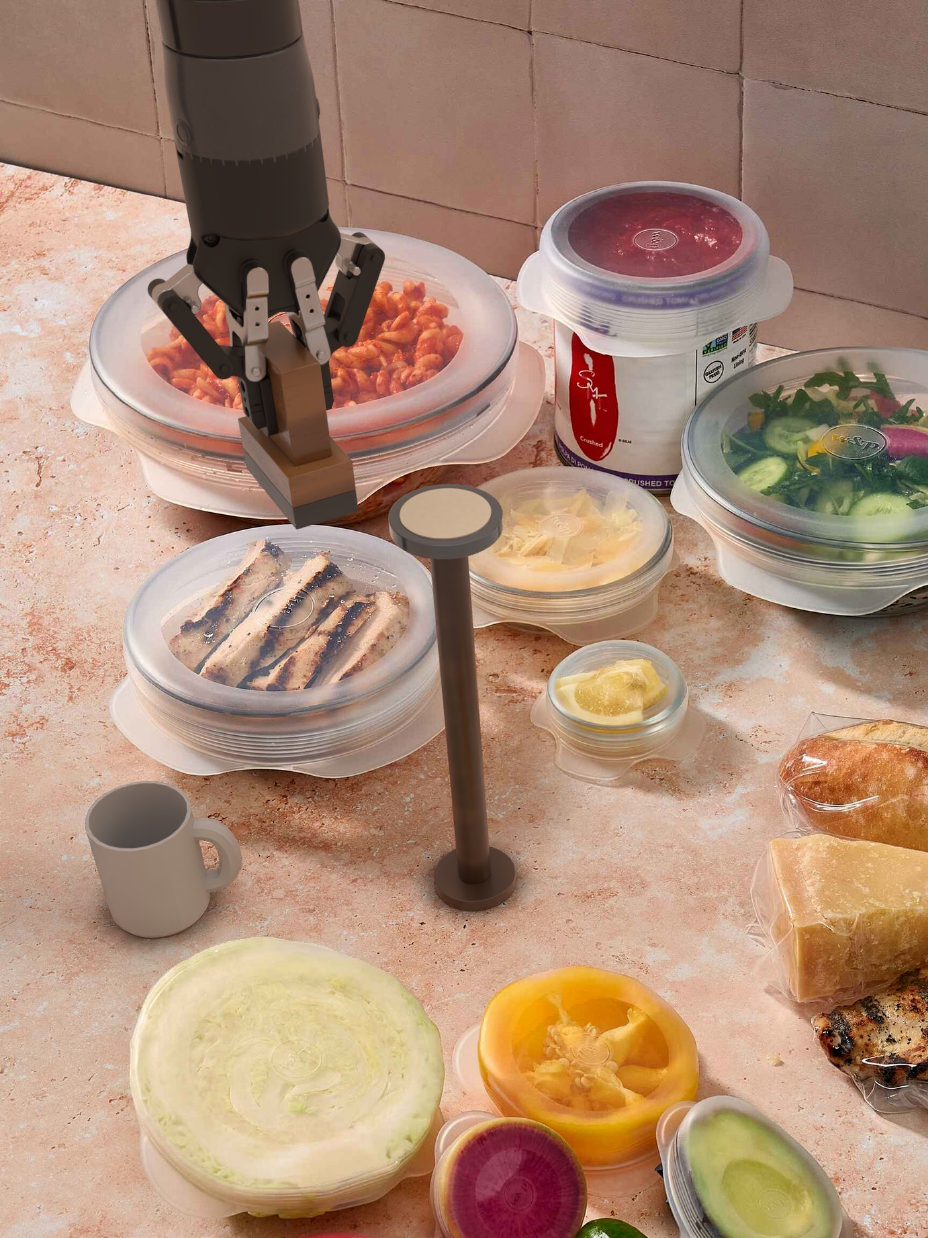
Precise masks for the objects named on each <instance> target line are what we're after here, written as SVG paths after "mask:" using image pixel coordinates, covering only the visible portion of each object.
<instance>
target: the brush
mask: <svg viewBox="0 0 928 1238" xmlns="http://www.w3.org/2000/svg"><path fill="white" fill-rule="evenodd" d="M268 336H269V337H268V342H266V375H267V376H268V377H269V378H270V379H271V385H272V392H273V398H274V405H275V411H276V417H277V424H278V430H279V432H278V434H275V435H271V436H268V437H267V436H266V435H265V434H264V433H263V431H262V430H261V429H256V428H255V426H254V425H253V424H252V423H251V422H250V420H249V419H248V418H247V416H246V415H245V416H242V417H238V418H237V421H238V428H239V433H240V439H241V445H242V450H243V456H244V462H245V467H246V468H245V469H247V471H248V472H249V473H250V475H251V476H252V477H253V478H254V479H255V481H256V482H257V483H258V485H259V486H260V487H261V488H262V489H263V490H264V492H265V493H266V494H267V495H268V497H269V498H270V500H272V502H273V503H274V504H275V505H276V507H277V508H278V509H279V511H280V512H281V513H282V514H283V515H284V516H285V518H286V519H287V520H288V521H289V523H290V524H291V525H292V526H293V527H294V528H295V530H297V531H298V530H301V529H304V528H307V527H311V526H313V525H317V524H321V523H324V522H327V521H330V520H334V519H338V518H340V517H344V516H348V515H351V514H355V513H357V512H359V504H358V495H357V489H356V479H355V472H354V464H353V459H352V458H351V457H350V456H349V455H348V454H347V453H346V451H344V449H342V448H341V446H340V445H339V444H338V443H337V442H336V441H335V440H334V439H333V438H332V437H331V434H330V427H329V421H328V413H327V410H326V404H325V397H324V390H323V382H322V375H321V367H320V362H319V361H318V360H317V359H316V358H315V357H314V356H313V355H312V354H311V353H310V352H309V351H308V350H307V349H306V348H305V347H304V346H303V345H302V344H301V343H300V341H299V340H298V339H297V338H296V337H295V336H294V335H293V332H292V331H290V329H288V328H287V327H286V326H285V324H283V323H282V321H280V320H276V321H272V322H268Z"/></svg>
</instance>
